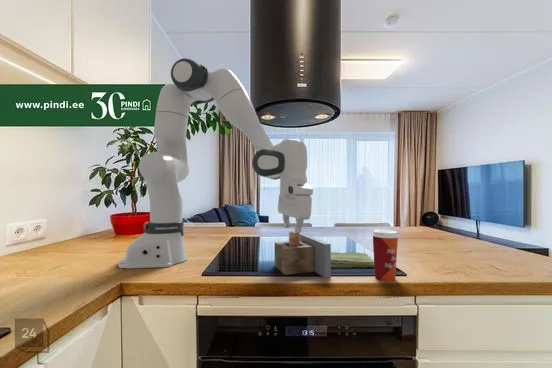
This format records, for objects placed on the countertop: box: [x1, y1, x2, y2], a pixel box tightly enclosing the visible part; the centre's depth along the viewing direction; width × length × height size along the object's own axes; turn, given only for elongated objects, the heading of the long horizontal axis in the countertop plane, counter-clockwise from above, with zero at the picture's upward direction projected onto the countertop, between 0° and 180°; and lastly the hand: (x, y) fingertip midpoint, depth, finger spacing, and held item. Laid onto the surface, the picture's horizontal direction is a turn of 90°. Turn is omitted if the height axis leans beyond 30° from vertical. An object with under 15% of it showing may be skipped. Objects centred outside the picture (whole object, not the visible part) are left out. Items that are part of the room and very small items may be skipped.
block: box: [274, 241, 315, 275], centre depth 96 cm, size 10×10×8 cm
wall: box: [300, 232, 332, 279], centre depth 98 cm, size 2×24×10 cm, turn 19°
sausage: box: [288, 230, 300, 247], centre depth 96 cm, size 4×4×12 cm
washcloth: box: [331, 251, 374, 269], centre depth 103 cm, size 13×18×3 cm
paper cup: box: [371, 229, 400, 282], centre depth 87 cm, size 8×8×14 cm
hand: (292, 229), depth 96 cm, fingers open, 8 cm apart
